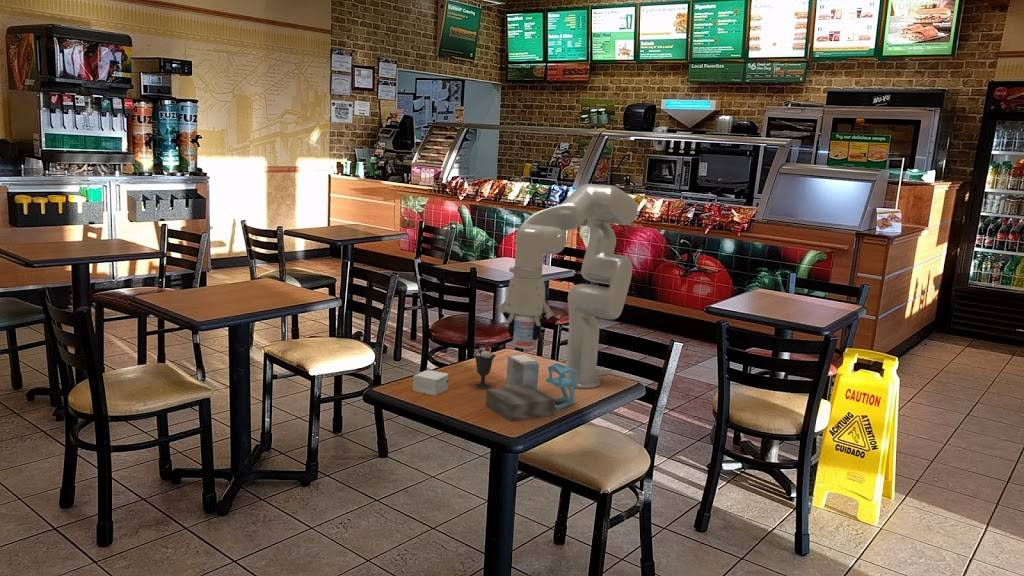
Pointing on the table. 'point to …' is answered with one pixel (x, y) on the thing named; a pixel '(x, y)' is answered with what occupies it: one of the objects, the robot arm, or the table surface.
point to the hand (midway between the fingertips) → (524, 337)
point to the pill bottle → (523, 331)
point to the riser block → (520, 402)
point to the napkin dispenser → (522, 371)
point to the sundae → (483, 364)
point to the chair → (562, 383)
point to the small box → (430, 382)
